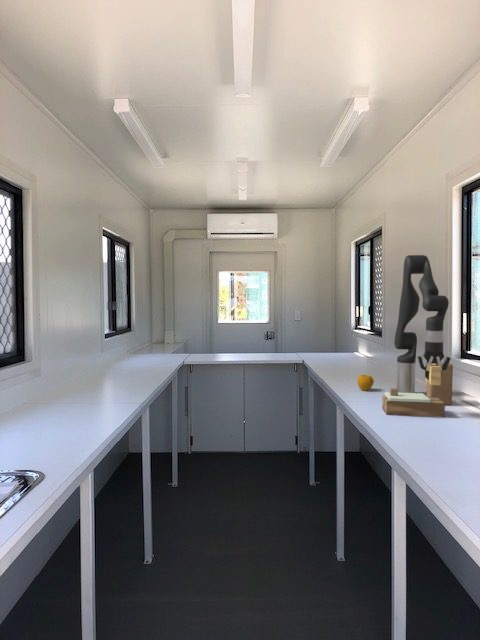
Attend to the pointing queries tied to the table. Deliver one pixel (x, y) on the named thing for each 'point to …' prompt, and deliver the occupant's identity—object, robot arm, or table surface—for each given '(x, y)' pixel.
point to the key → (434, 375)
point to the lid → (406, 396)
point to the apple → (365, 382)
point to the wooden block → (442, 386)
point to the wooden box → (414, 407)
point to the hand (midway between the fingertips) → (433, 379)
